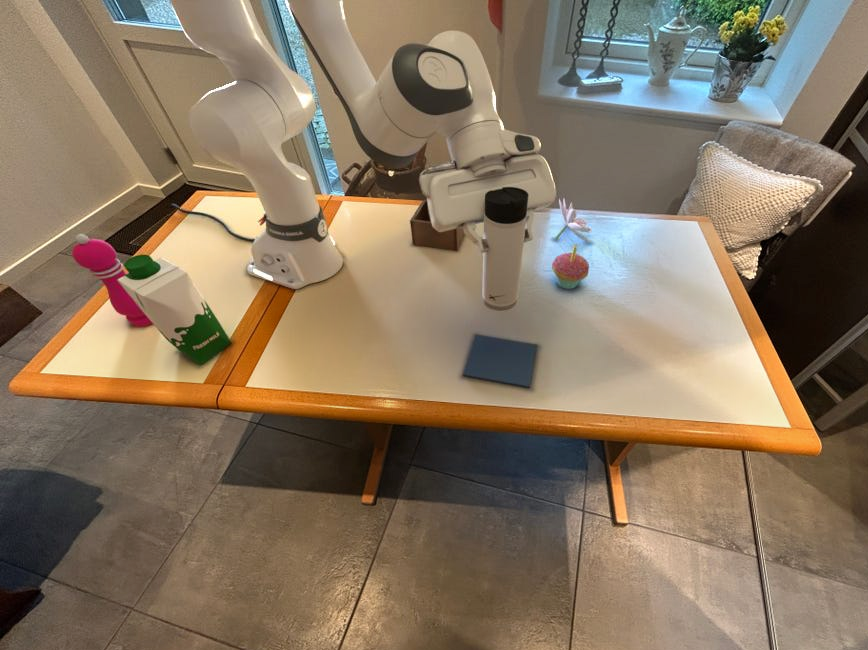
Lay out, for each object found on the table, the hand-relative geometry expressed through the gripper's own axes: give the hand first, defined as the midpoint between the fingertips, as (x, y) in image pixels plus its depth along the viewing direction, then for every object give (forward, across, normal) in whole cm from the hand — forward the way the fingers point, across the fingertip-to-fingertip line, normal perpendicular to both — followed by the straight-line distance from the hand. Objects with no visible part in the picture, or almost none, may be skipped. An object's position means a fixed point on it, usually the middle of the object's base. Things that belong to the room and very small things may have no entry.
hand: (505, 246), depth 62 cm
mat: (+19, 0, +16) cm, 25 cm away
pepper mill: (-10, -65, +46) cm, 80 cm away
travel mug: (+8, 0, +9) cm, 12 cm away
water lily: (-3, +37, +39) cm, 54 cm away
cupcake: (+8, +25, +28) cm, 38 cm away
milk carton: (0, -54, +36) cm, 64 cm away
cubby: (-14, +4, +49) cm, 51 cm away
